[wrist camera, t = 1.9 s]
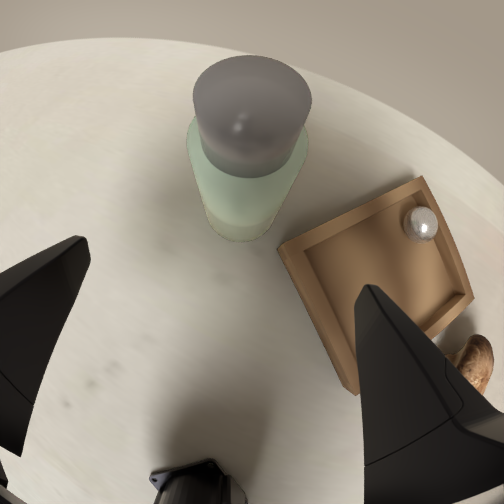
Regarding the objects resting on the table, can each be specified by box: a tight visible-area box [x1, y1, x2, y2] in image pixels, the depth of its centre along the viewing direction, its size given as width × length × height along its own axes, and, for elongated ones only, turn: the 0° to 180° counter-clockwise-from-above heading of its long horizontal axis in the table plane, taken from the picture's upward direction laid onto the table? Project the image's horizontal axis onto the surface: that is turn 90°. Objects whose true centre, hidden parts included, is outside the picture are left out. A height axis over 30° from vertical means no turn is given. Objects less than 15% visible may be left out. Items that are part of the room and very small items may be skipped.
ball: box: [404, 206, 438, 244], centre depth 19 cm, size 3×3×3 cm
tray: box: [277, 176, 474, 396], centre depth 20 cm, size 14×12×2 cm
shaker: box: [187, 55, 312, 242], centre depth 15 cm, size 5×5×13 cm
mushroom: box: [445, 334, 494, 395], centre depth 18 cm, size 8×8×6 cm
